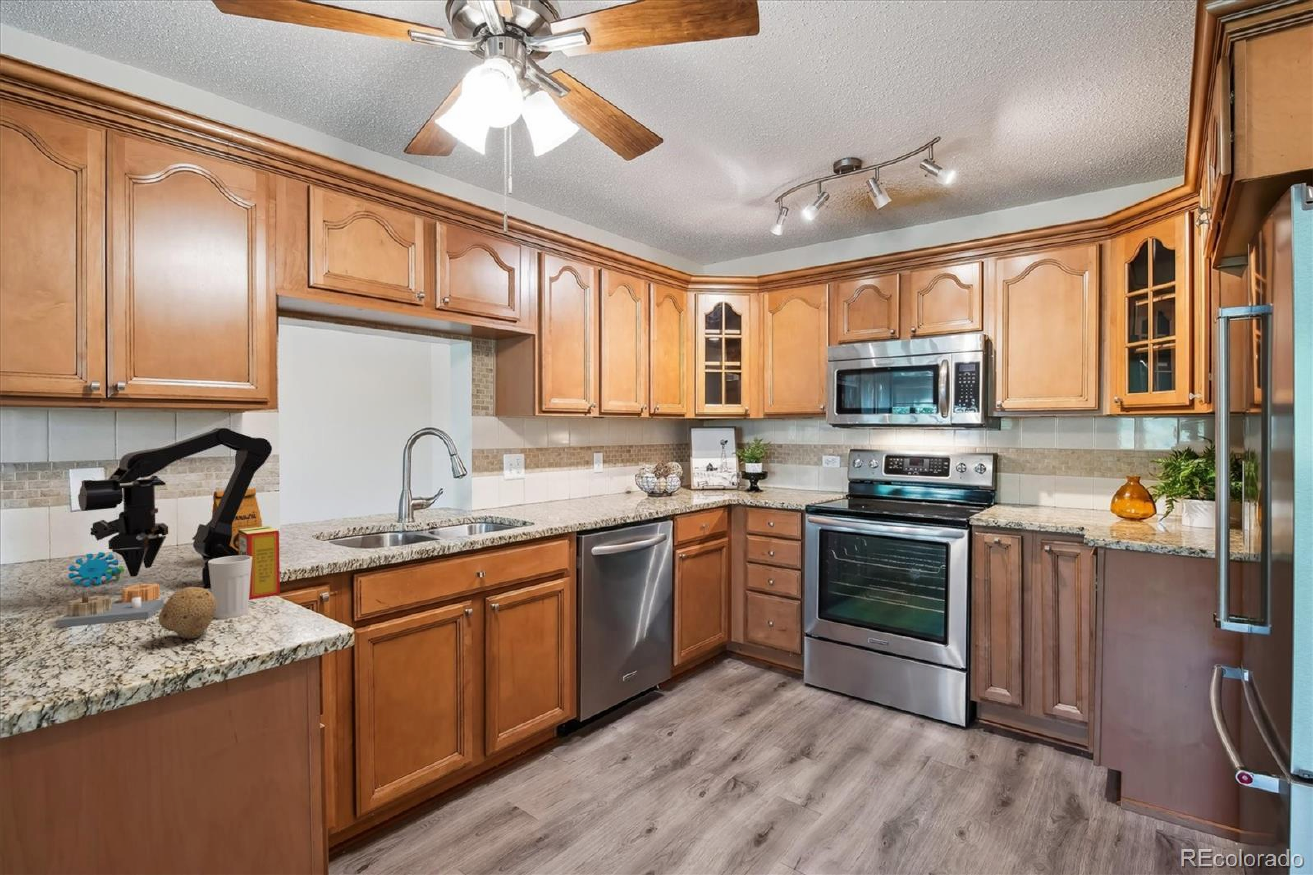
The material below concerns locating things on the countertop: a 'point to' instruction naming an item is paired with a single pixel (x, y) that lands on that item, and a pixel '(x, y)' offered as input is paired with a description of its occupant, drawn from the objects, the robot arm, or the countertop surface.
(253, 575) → the baking soda box
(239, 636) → the countertop surface
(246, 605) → the cup
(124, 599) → the orange gear
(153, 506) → the robot arm
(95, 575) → the gear
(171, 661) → the countertop surface
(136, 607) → the gear board
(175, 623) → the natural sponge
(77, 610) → the birch gear
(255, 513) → the coffee package
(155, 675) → the countertop surface
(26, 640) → the countertop surface
